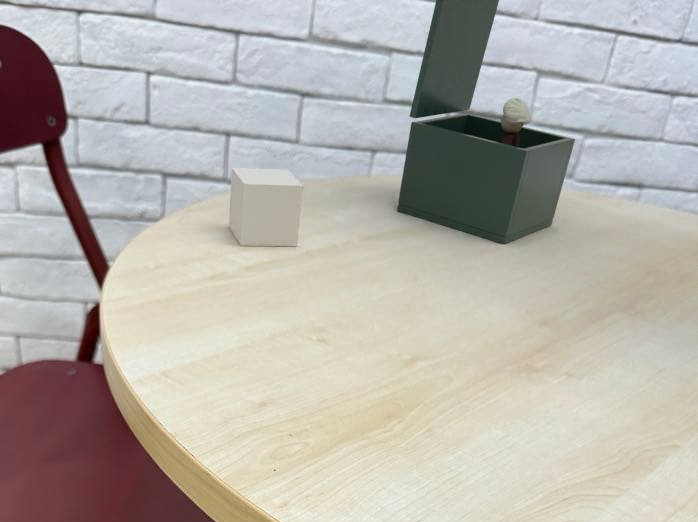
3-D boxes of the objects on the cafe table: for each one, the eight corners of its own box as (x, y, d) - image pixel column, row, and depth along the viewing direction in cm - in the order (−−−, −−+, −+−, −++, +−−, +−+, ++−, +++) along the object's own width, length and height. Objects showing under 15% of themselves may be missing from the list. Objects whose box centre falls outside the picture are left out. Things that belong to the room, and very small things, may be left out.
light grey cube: (297, 246, 88) (303, 185, 84) (240, 246, 86) (244, 184, 82) (282, 227, 92) (287, 169, 88) (228, 226, 90) (231, 167, 87)
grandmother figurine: (476, 205, 105) (501, 90, 97) (507, 210, 104) (534, 95, 97) (474, 221, 99) (500, 101, 91) (507, 227, 98) (536, 106, 91)
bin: (551, 225, 104) (575, 138, 98) (503, 244, 95) (526, 151, 90) (449, 195, 110) (466, 112, 105) (396, 210, 102) (411, 121, 96)
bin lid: (510, -41, 94) (471, -51, 96) (453, -45, 86) (412, -56, 88) (469, 109, 104) (435, 97, 106) (414, 118, 96) (378, 105, 98)
